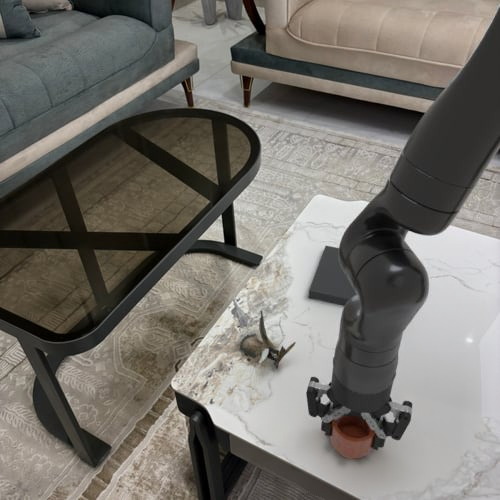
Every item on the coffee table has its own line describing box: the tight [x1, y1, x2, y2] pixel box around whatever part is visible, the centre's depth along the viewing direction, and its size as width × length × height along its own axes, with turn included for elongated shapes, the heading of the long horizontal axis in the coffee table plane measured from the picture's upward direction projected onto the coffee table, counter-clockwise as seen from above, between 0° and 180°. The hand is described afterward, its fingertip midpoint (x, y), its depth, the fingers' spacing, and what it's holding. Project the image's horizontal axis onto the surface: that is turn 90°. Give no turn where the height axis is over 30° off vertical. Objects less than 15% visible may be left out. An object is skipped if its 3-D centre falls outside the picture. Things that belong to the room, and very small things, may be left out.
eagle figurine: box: [239, 309, 296, 369], centre depth 84 cm, size 8×7×9 cm
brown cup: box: [329, 415, 376, 459], centre depth 71 cm, size 6×6×5 cm
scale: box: [308, 245, 357, 306], centre depth 97 cm, size 16×14×4 cm
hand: (351, 437), depth 72 cm, fingers closed on brown cup, 6 cm apart
